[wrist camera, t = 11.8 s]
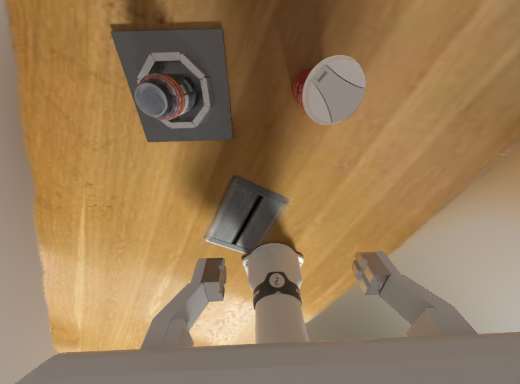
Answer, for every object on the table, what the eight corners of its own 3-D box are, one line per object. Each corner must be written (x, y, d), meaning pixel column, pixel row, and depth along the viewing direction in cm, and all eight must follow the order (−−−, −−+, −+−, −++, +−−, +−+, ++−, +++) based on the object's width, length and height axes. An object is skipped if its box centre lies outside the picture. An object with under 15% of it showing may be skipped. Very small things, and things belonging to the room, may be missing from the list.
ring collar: (233, 138, 38) (231, 143, 35) (150, 140, 38) (141, 145, 35) (222, 30, 30) (219, 24, 27) (114, 32, 29) (99, 27, 26)
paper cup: (278, 91, 34) (291, 98, 22) (309, 51, 31) (343, 34, 19) (307, 120, 37) (332, 139, 25) (338, 86, 34) (383, 89, 22)
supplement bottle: (157, 96, 33) (117, 103, 24) (172, 65, 31) (134, 58, 21) (187, 118, 35) (162, 133, 26) (203, 91, 33) (182, 95, 23)
